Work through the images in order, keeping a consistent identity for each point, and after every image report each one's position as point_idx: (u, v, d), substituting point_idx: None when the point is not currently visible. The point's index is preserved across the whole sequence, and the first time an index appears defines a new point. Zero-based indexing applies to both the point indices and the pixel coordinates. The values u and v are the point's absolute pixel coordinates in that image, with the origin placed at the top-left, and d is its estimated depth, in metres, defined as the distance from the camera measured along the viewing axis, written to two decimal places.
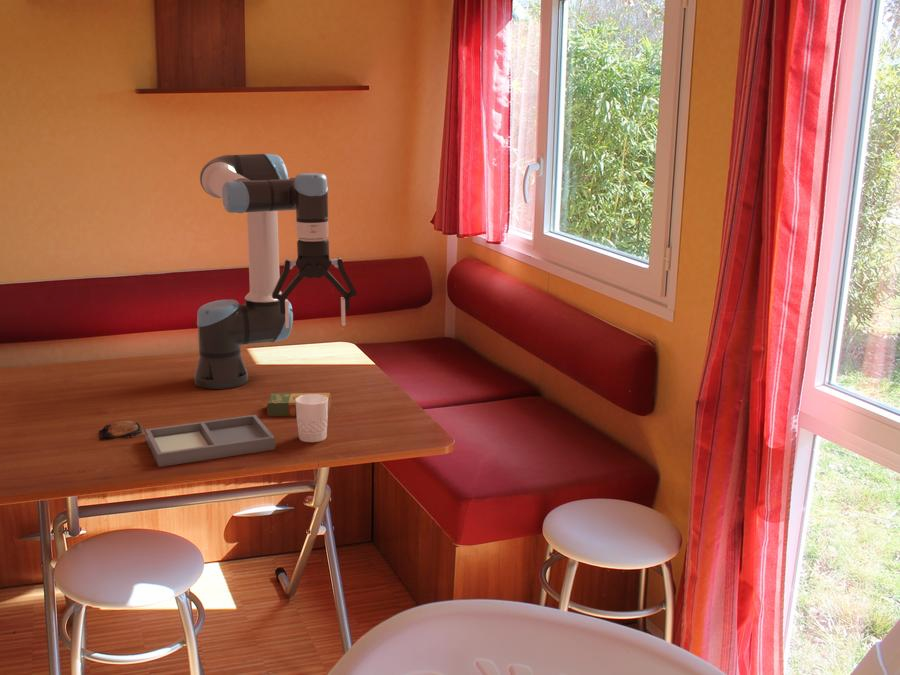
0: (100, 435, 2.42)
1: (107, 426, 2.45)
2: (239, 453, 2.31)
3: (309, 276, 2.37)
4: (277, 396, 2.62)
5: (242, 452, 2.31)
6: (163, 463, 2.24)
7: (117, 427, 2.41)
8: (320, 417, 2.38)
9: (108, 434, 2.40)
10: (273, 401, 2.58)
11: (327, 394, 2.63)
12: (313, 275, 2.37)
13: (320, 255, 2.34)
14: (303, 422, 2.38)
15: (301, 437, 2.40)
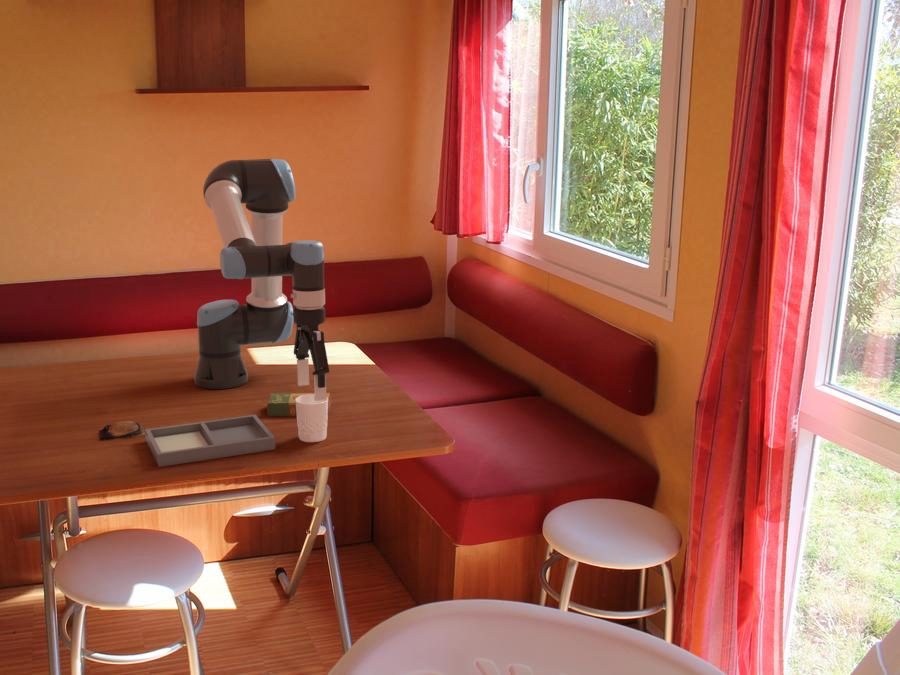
0: (100, 435, 2.42)
1: (107, 426, 2.45)
2: (239, 453, 2.31)
3: (304, 342, 2.37)
4: (277, 396, 2.62)
5: (242, 452, 2.31)
6: (163, 463, 2.24)
7: (117, 427, 2.41)
8: (320, 417, 2.38)
9: (108, 434, 2.40)
10: (273, 401, 2.58)
11: (327, 394, 2.63)
12: (305, 342, 2.36)
13: (297, 323, 2.32)
14: (303, 422, 2.38)
15: (301, 437, 2.40)
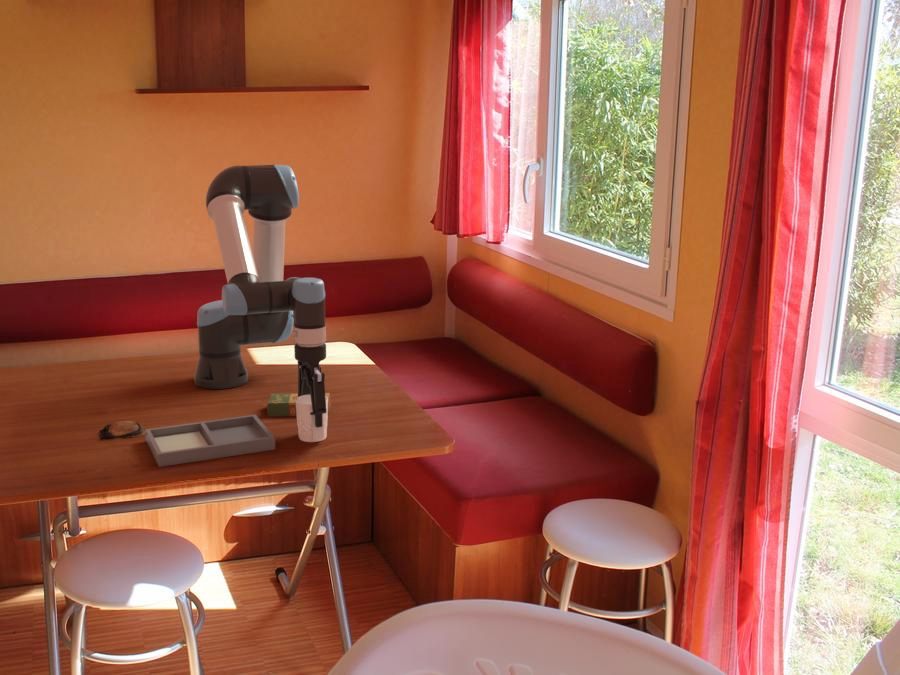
0: (100, 435, 2.42)
1: (108, 426, 2.45)
2: (239, 453, 2.31)
3: (305, 377, 2.39)
4: (277, 396, 2.62)
5: (242, 452, 2.31)
6: (163, 463, 2.24)
7: (118, 427, 2.41)
8: None
9: (108, 434, 2.40)
10: (273, 401, 2.58)
11: (327, 394, 2.63)
12: None
13: (298, 360, 2.35)
14: (303, 422, 2.38)
15: (301, 437, 2.40)
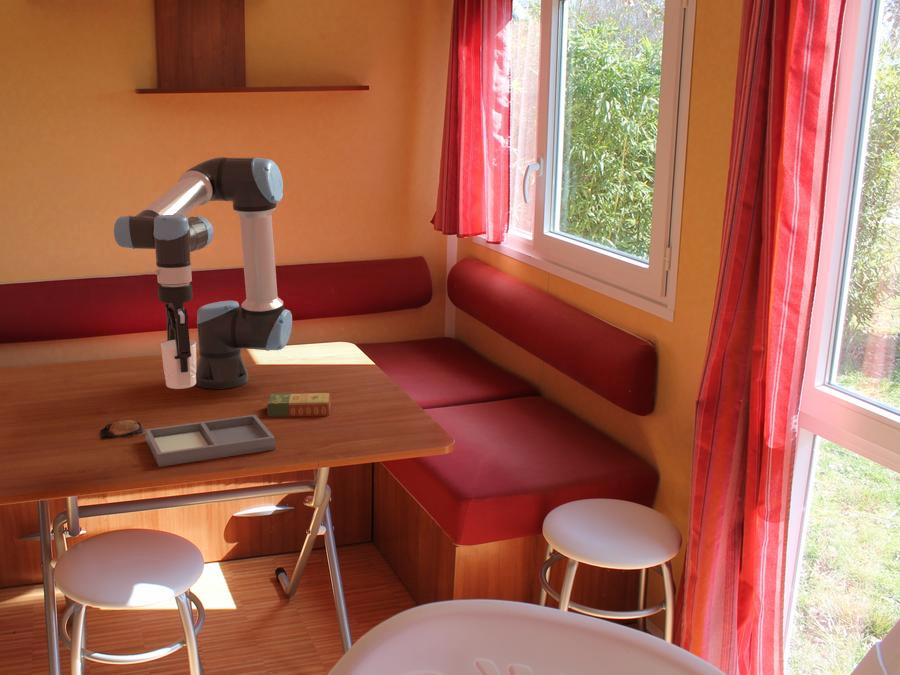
0: (101, 434, 2.43)
1: (108, 425, 2.45)
2: (239, 453, 2.31)
3: None
4: (277, 396, 2.62)
5: (242, 452, 2.31)
6: (163, 463, 2.24)
7: (119, 426, 2.42)
8: None
9: (109, 433, 2.40)
10: (273, 401, 2.58)
11: (327, 394, 2.63)
12: None
13: (161, 301, 2.22)
14: (168, 367, 2.26)
15: (167, 383, 2.28)
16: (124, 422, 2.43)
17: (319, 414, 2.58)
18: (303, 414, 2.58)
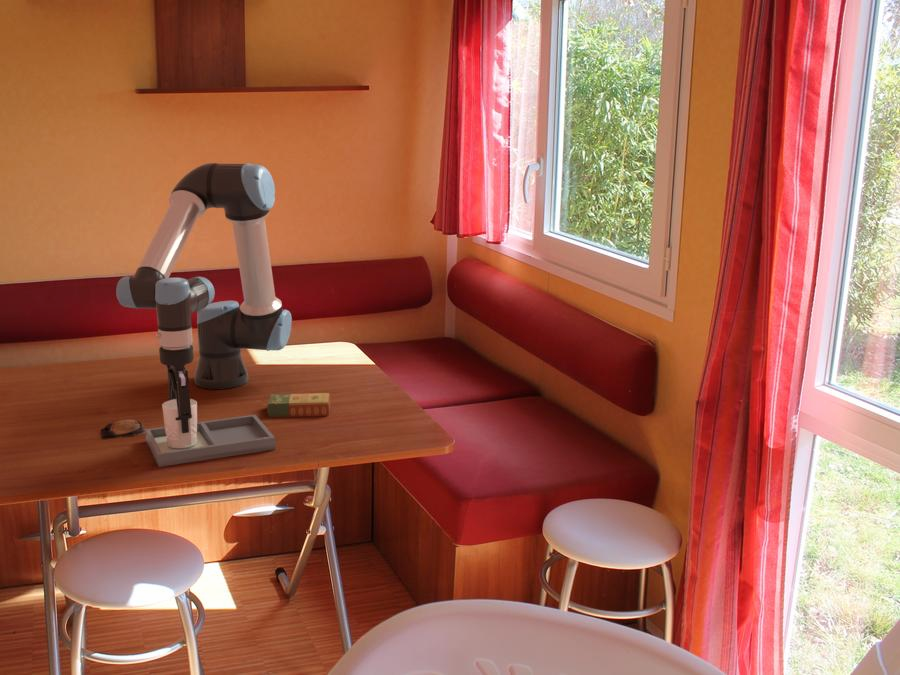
0: (102, 434, 2.43)
1: (109, 425, 2.46)
2: (239, 453, 2.31)
3: None
4: (277, 396, 2.61)
5: (242, 452, 2.31)
6: (163, 463, 2.24)
7: (119, 425, 2.42)
8: None
9: (110, 433, 2.41)
10: (273, 402, 2.57)
11: (327, 394, 2.63)
12: None
13: (163, 363, 2.26)
14: (169, 427, 2.29)
15: (169, 443, 2.31)
16: (125, 421, 2.44)
17: (319, 414, 2.58)
18: (303, 414, 2.58)
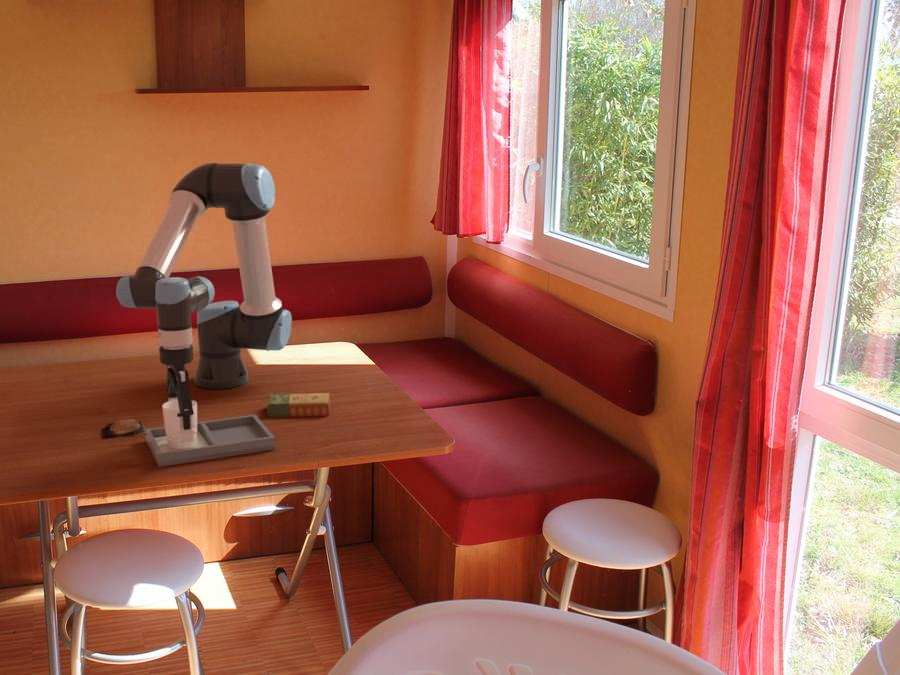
0: (102, 433, 2.43)
1: (109, 425, 2.46)
2: (239, 453, 2.31)
3: None
4: (277, 397, 2.61)
5: (242, 452, 2.31)
6: (163, 463, 2.24)
7: (120, 425, 2.42)
8: None
9: (110, 432, 2.41)
10: (273, 402, 2.57)
11: (327, 394, 2.63)
12: None
13: (163, 363, 2.26)
14: (170, 428, 2.29)
15: (169, 444, 2.31)
16: (125, 421, 2.44)
17: (319, 414, 2.58)
18: (303, 414, 2.58)
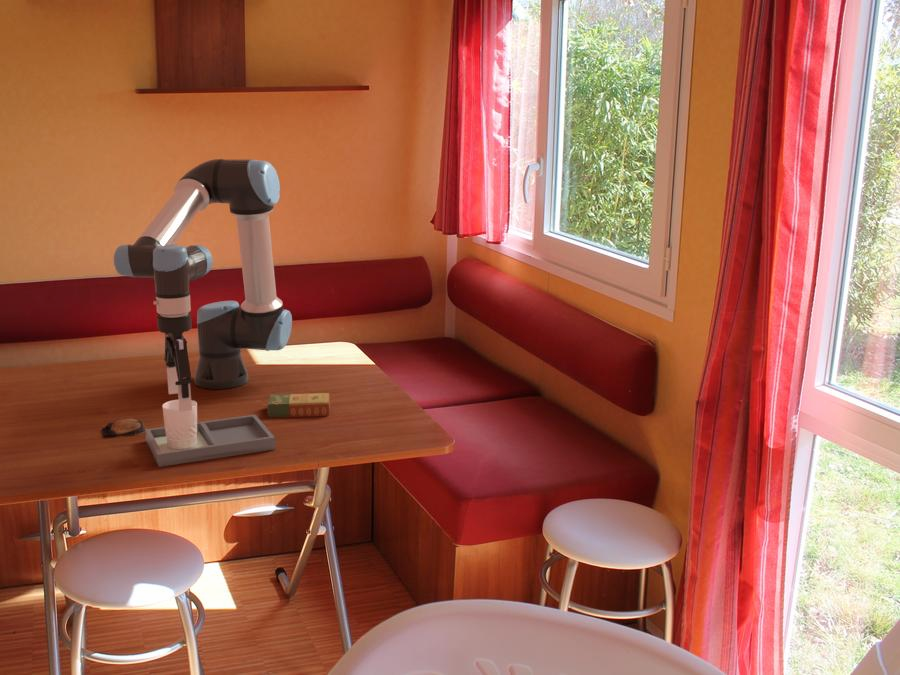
0: (103, 433, 2.44)
1: (110, 424, 2.46)
2: (239, 453, 2.31)
3: None
4: (277, 397, 2.61)
5: (242, 452, 2.31)
6: (163, 463, 2.24)
7: (120, 425, 2.43)
8: (187, 423, 2.29)
9: (111, 432, 2.41)
10: (273, 402, 2.57)
11: (327, 394, 2.63)
12: None
13: (161, 331, 2.24)
14: (170, 428, 2.29)
15: (169, 444, 2.31)
16: (126, 421, 2.44)
17: (319, 414, 2.58)
18: (303, 414, 2.58)
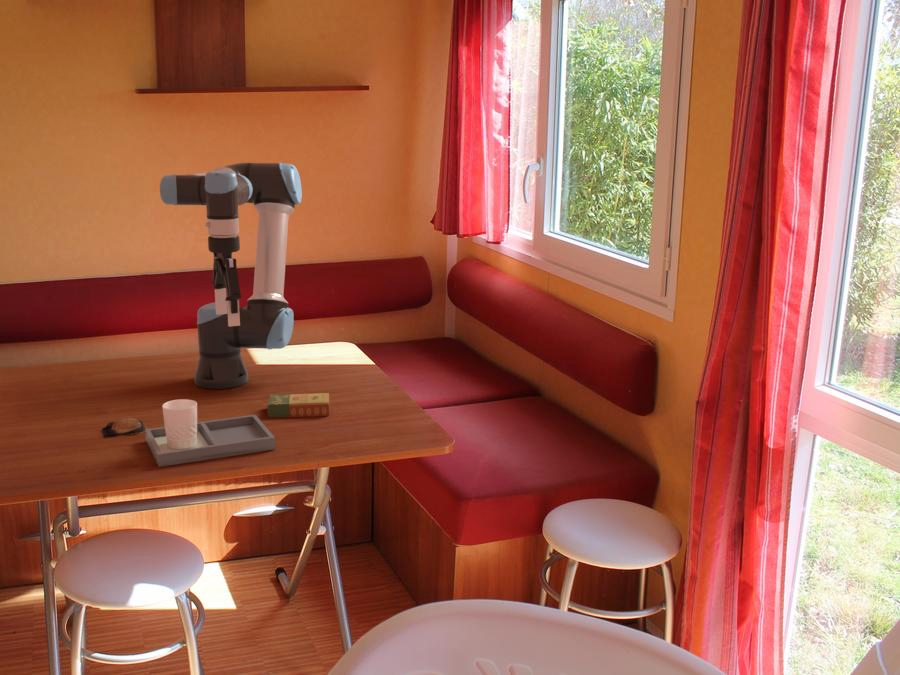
0: (104, 432, 2.44)
1: (110, 423, 2.47)
2: (239, 453, 2.31)
3: (220, 270, 2.44)
4: (277, 397, 2.61)
5: (242, 452, 2.31)
6: (163, 463, 2.24)
7: (121, 424, 2.43)
8: (187, 423, 2.29)
9: (112, 431, 2.42)
10: (273, 402, 2.57)
11: (326, 394, 2.63)
12: None
13: (211, 251, 2.40)
14: (170, 428, 2.29)
15: (169, 444, 2.31)
16: (126, 420, 2.45)
17: (320, 414, 2.58)
18: (304, 414, 2.58)
